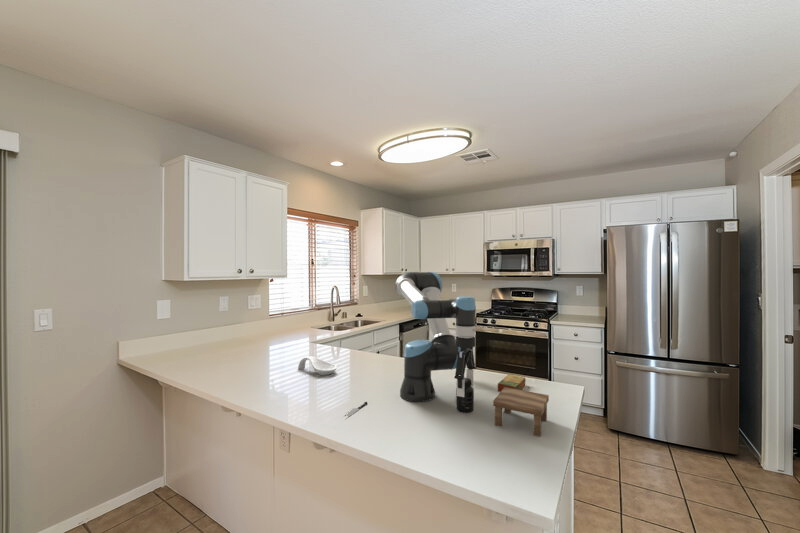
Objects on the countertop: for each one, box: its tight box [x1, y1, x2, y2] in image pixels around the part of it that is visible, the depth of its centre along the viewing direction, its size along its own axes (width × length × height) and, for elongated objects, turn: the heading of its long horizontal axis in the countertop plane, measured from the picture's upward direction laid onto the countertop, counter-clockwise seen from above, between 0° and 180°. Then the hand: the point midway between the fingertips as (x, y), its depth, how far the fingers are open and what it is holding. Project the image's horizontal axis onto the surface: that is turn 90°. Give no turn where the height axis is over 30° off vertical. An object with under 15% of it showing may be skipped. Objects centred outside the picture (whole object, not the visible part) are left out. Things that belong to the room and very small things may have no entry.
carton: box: [497, 374, 526, 393], centre depth 161 cm, size 8×16×4 cm, turn 145°
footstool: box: [492, 387, 550, 437], centre depth 125 cm, size 16×16×9 cm
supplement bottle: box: [455, 378, 475, 414], centre depth 136 cm, size 7×7×12 cm
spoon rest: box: [297, 356, 338, 376], centre depth 183 cm, size 24×12×7 cm, turn 60°
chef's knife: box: [346, 401, 368, 417], centre depth 133 cm, size 19×1×3 cm
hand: (465, 390), depth 135 cm, fingers open, 13 cm apart
